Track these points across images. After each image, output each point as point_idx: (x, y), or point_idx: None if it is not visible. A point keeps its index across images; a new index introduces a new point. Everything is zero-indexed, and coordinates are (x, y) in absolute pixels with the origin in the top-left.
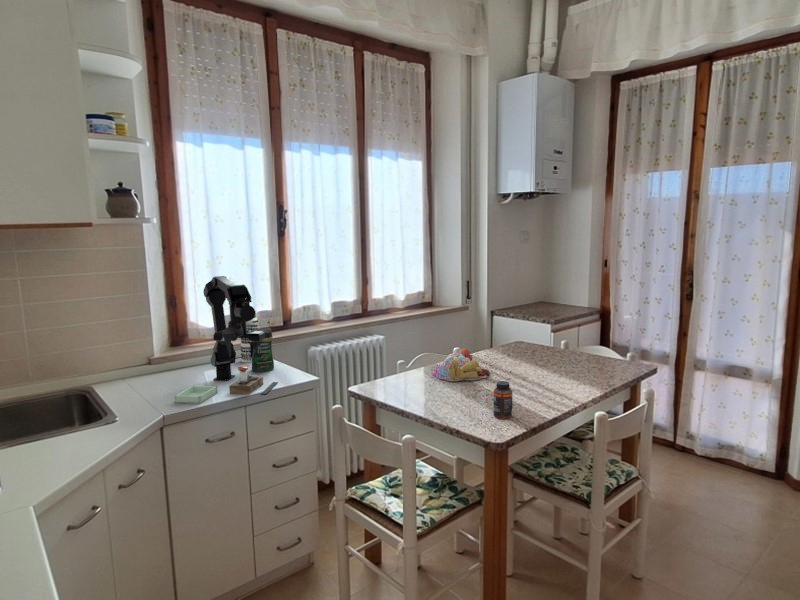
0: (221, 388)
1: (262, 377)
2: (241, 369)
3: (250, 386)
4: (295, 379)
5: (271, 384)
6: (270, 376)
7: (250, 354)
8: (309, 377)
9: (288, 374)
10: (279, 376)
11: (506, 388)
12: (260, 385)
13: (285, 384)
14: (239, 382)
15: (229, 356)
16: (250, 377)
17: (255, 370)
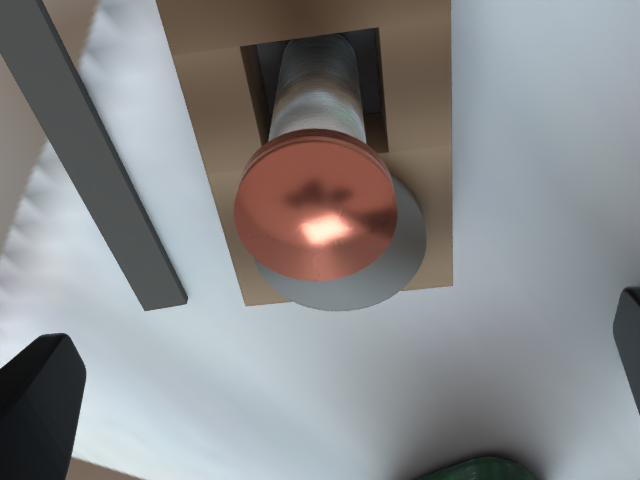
0: (623, 63)
1: (244, 298)
2: (293, 139)
3: (166, 18)
4: None
5: (151, 251)
6: (321, 407)
7: (8, 395)
8: None
9: (217, 454)
10: (252, 417)
11: None
12: None
13: (57, 289)
14: (384, 99)
15: (634, 308)
16: None
17: (492, 463)
